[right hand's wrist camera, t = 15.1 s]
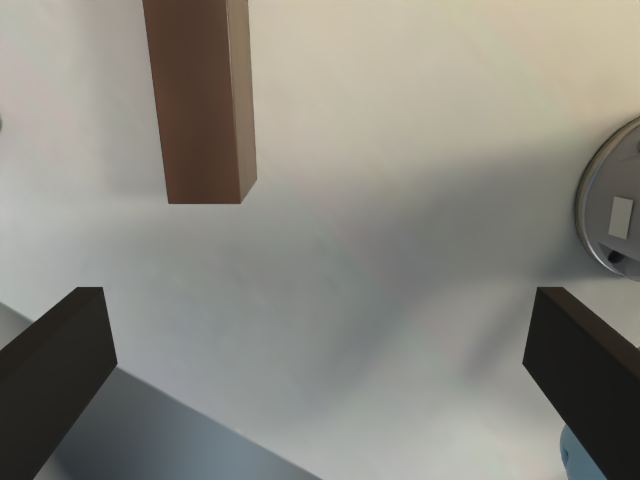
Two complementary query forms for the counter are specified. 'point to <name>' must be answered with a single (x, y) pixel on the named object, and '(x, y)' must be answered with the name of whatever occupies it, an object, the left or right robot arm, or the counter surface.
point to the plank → (203, 98)
